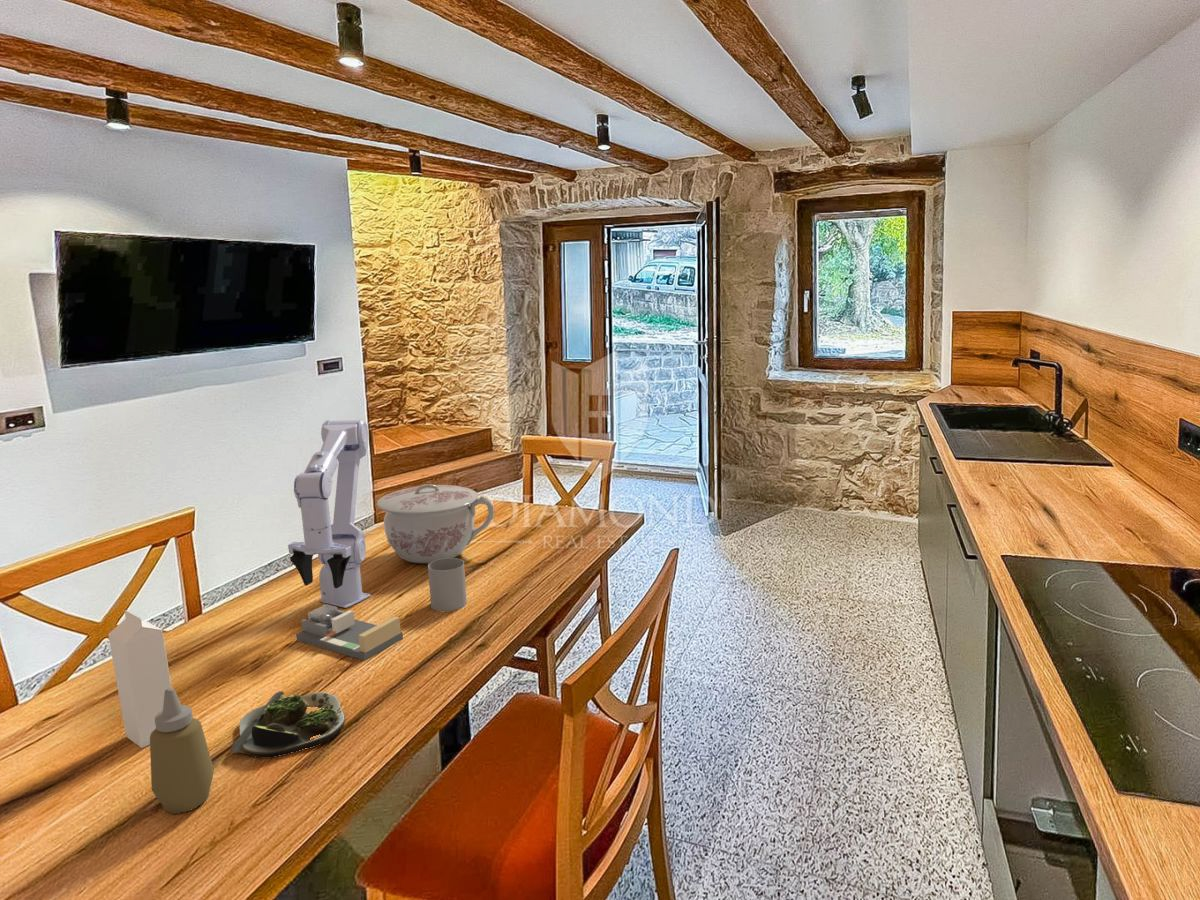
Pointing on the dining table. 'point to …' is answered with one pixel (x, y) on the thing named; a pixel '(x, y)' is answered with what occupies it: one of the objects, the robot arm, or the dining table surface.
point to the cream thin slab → (342, 622)
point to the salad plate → (289, 724)
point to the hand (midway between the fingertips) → (323, 585)
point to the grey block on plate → (323, 615)
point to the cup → (447, 584)
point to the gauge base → (352, 637)
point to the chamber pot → (432, 521)
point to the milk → (139, 675)
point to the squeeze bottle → (179, 757)
